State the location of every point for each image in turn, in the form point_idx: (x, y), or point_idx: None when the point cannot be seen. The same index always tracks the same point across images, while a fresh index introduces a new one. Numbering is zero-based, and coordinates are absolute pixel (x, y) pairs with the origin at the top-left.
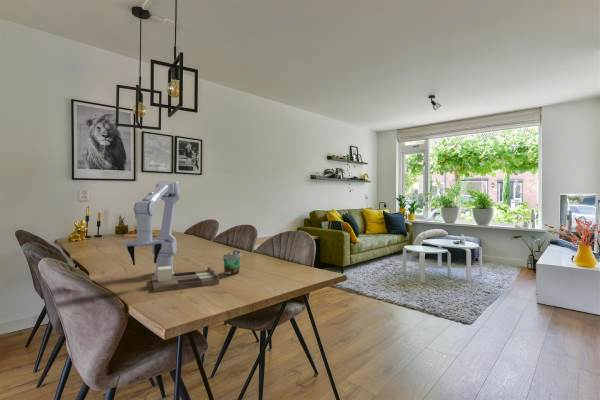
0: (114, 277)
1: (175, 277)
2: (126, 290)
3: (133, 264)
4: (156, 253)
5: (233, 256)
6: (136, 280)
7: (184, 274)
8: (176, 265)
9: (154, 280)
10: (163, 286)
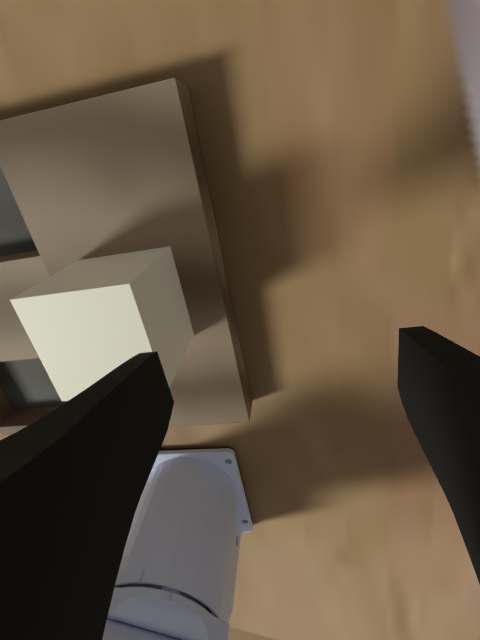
0: None
1: None
2: (407, 213)
3: (425, 328)
4: (39, 436)
5: None
6: (341, 427)
7: None
8: None
9: (209, 300)
10: (101, 95)
